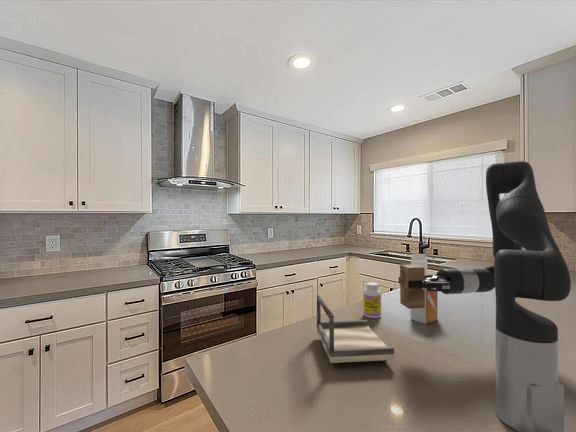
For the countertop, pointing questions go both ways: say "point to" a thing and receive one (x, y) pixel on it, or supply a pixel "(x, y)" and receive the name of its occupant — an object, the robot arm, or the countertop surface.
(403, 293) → the walnut block
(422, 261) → the milk
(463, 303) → the countertop surface
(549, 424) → the robot arm
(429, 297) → the small box
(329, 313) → the cart
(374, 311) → the supplement bottle
